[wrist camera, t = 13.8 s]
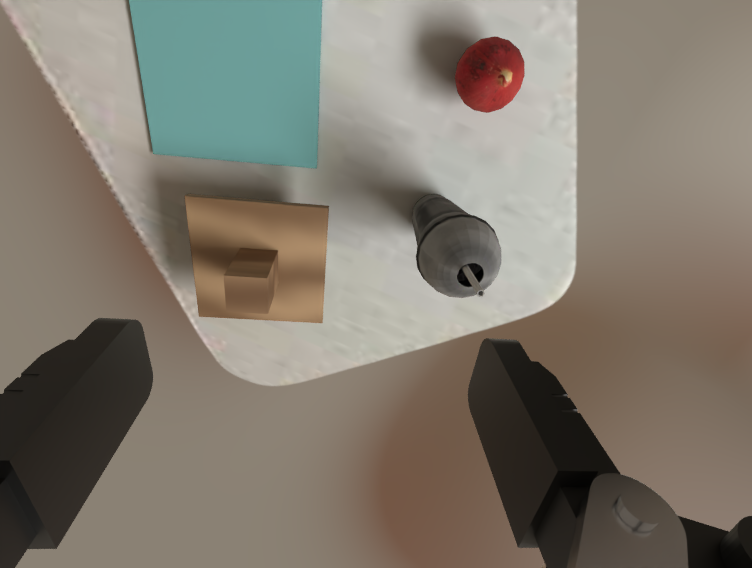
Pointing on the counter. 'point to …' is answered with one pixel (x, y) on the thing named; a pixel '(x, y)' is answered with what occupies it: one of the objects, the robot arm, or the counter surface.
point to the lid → (258, 258)
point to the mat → (231, 78)
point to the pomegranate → (489, 74)
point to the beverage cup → (454, 248)
